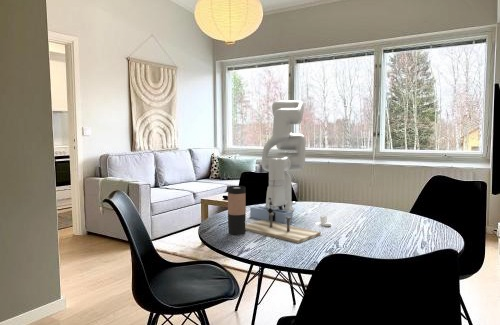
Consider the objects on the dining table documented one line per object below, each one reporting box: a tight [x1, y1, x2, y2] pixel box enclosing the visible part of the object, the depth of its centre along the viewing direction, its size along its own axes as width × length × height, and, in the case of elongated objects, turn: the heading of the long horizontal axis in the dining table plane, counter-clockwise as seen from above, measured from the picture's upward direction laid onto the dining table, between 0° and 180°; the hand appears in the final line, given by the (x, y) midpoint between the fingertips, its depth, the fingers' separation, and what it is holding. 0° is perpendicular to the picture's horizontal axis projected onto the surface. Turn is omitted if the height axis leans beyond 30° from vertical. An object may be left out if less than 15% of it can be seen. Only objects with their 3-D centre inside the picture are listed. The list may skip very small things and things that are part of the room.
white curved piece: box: [314, 215, 333, 227], centre depth 180 cm, size 9×8×4 cm
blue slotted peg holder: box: [249, 205, 294, 225], centre depth 189 cm, size 6×22×5 cm, turn 47°
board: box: [245, 213, 322, 244], centre depth 167 cm, size 16×32×7 cm, turn 47°
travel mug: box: [227, 185, 247, 236], centre depth 164 cm, size 8×8×20 cm
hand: (276, 219), depth 187 cm, fingers open, 6 cm apart
